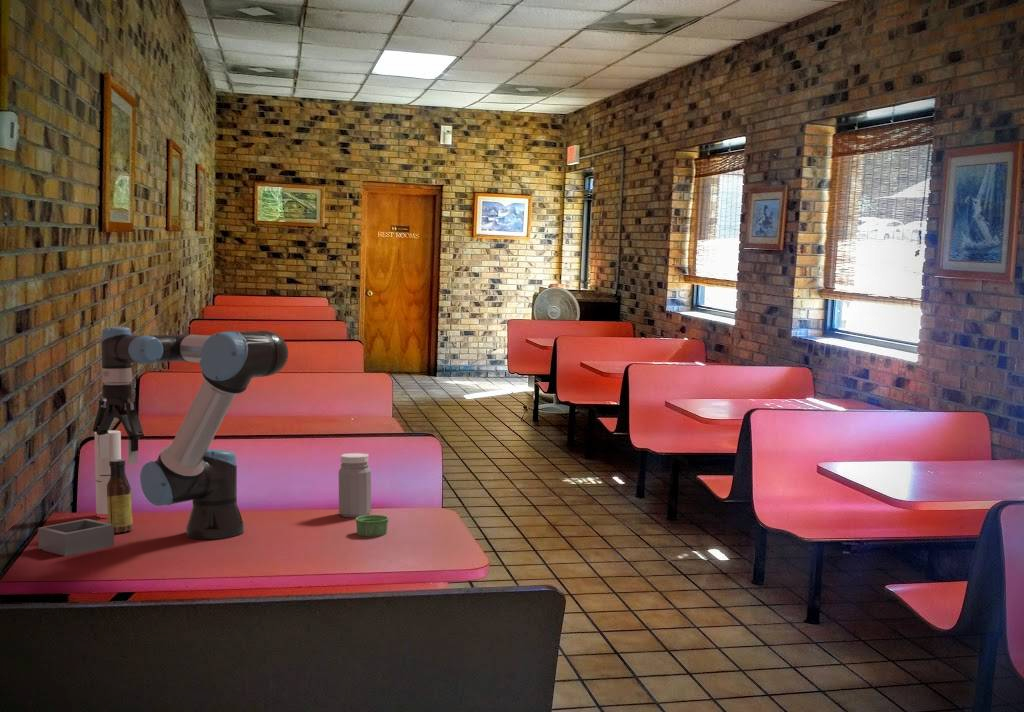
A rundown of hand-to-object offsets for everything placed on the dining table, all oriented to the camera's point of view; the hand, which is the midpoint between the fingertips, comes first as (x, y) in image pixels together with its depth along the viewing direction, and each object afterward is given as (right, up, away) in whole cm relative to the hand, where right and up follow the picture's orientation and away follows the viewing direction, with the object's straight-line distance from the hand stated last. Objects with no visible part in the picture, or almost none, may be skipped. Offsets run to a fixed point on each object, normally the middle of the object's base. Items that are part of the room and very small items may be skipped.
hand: (118, 460), depth 272 cm
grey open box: (-4, -21, -17) cm, 27 cm away
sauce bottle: (0, -20, +1) cm, 20 cm away
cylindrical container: (-11, -19, +21) cm, 30 cm away
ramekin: (+70, -20, -1) cm, 73 cm away
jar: (+62, -19, +23) cm, 68 cm away
